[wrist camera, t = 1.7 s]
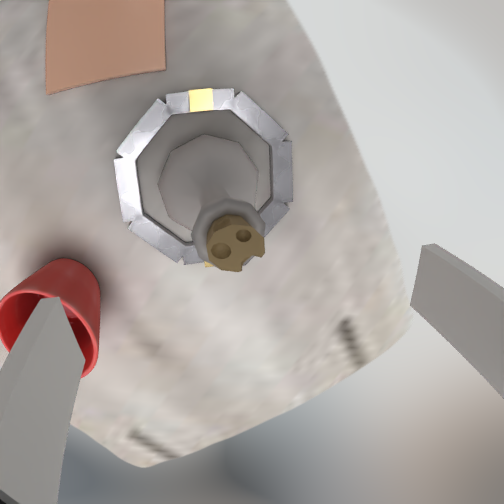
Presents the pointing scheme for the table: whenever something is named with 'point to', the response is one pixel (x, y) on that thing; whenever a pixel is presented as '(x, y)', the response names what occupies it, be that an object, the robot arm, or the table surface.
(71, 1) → the coaster
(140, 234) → the collar
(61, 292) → the flower pot
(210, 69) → the table surface
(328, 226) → the table surface
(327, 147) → the table surface
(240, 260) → the potion bottle
